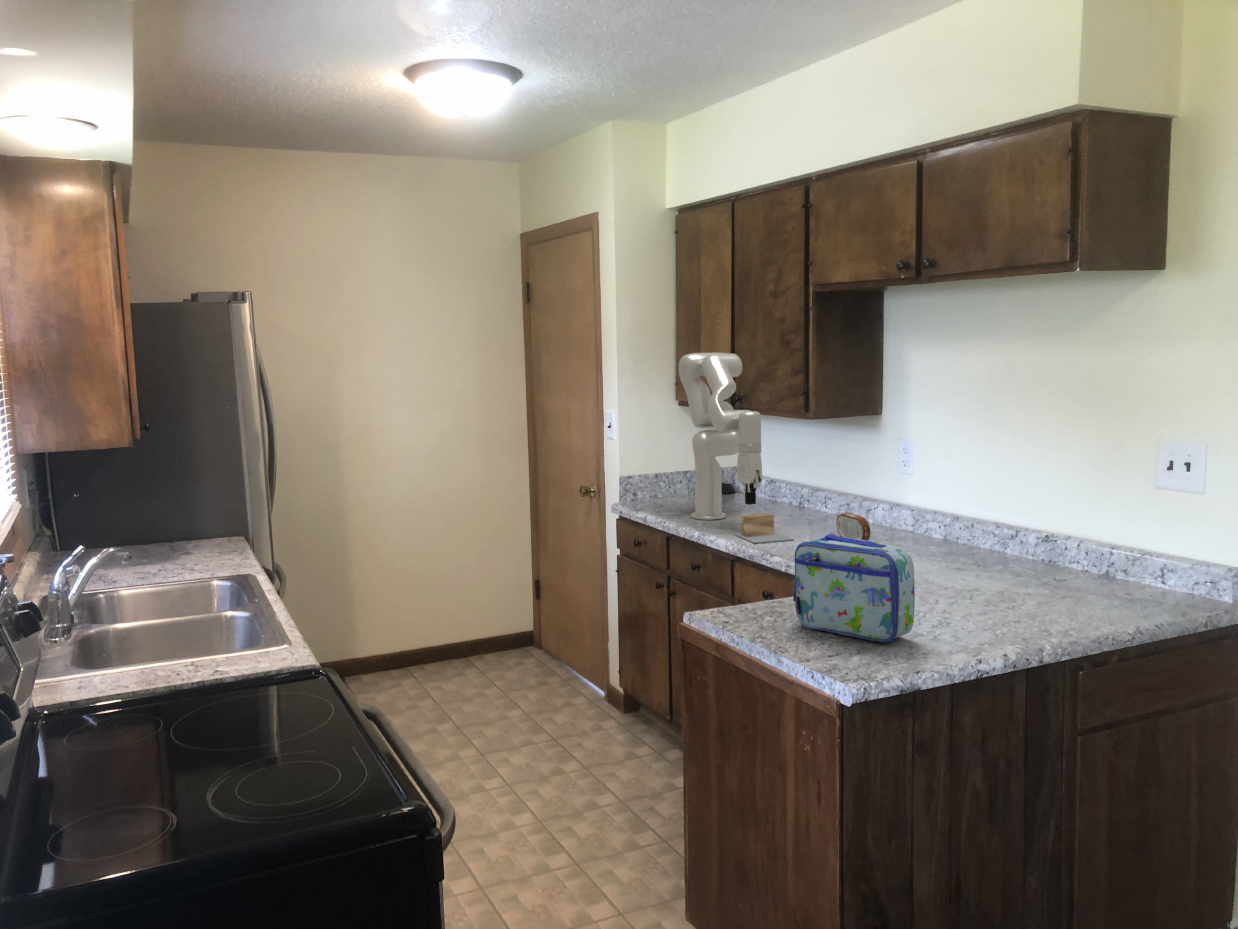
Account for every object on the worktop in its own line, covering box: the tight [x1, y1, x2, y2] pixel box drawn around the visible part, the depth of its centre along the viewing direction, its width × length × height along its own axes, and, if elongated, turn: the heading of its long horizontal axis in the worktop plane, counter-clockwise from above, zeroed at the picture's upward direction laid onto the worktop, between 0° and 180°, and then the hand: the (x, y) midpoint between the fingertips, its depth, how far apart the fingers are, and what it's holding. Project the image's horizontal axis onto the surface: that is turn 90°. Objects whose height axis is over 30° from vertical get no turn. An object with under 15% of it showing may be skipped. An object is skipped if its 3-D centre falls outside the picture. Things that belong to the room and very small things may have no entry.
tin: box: [836, 512, 871, 541], centre depth 304 cm, size 15×3×8 cm, turn 22°
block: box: [740, 512, 775, 537], centre depth 312 cm, size 4×10×6 cm, turn 109°
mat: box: [733, 531, 795, 545], centre depth 310 cm, size 15×14×1 cm
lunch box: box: [792, 532, 916, 644], centre depth 207 cm, size 26×11×21 cm, turn 44°
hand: (750, 503), depth 317 cm, fingers closed
